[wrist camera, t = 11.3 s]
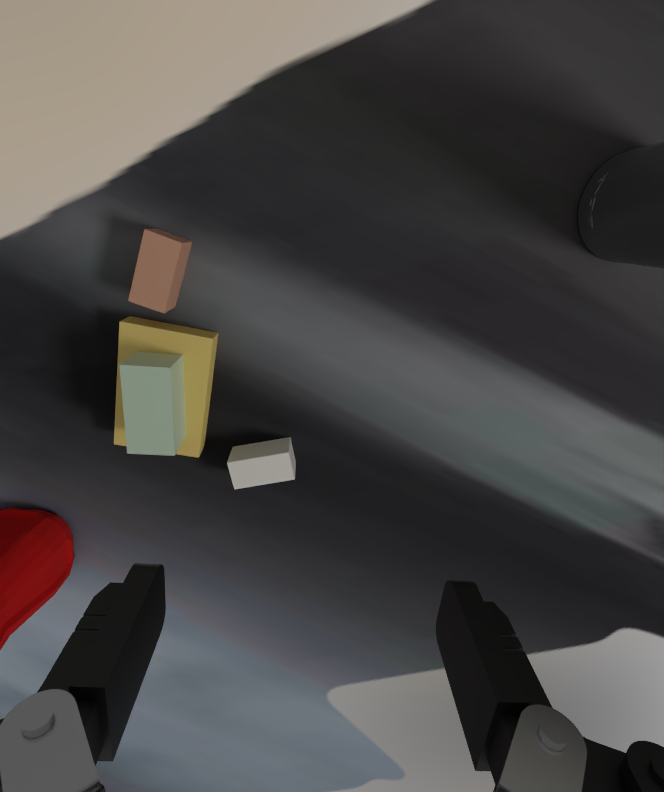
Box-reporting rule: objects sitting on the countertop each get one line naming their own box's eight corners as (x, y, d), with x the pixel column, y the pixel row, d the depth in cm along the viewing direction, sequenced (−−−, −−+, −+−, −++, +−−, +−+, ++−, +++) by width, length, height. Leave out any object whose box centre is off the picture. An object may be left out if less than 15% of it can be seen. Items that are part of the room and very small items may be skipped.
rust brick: (158, 228, 39) (144, 228, 36) (192, 241, 40) (181, 243, 36) (142, 294, 41) (128, 300, 38) (175, 306, 41) (164, 313, 38)
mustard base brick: (219, 331, 43) (212, 338, 40) (205, 443, 47) (198, 457, 44) (132, 314, 42) (119, 321, 39) (125, 430, 46) (113, 444, 43)
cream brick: (290, 436, 47) (288, 452, 43) (295, 461, 48) (294, 479, 44) (232, 446, 47) (226, 462, 43) (239, 471, 48) (234, 489, 44)
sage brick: (183, 354, 40) (170, 367, 37) (186, 435, 43) (174, 455, 39) (137, 351, 40) (119, 364, 36) (143, 433, 43) (127, 453, 39)
